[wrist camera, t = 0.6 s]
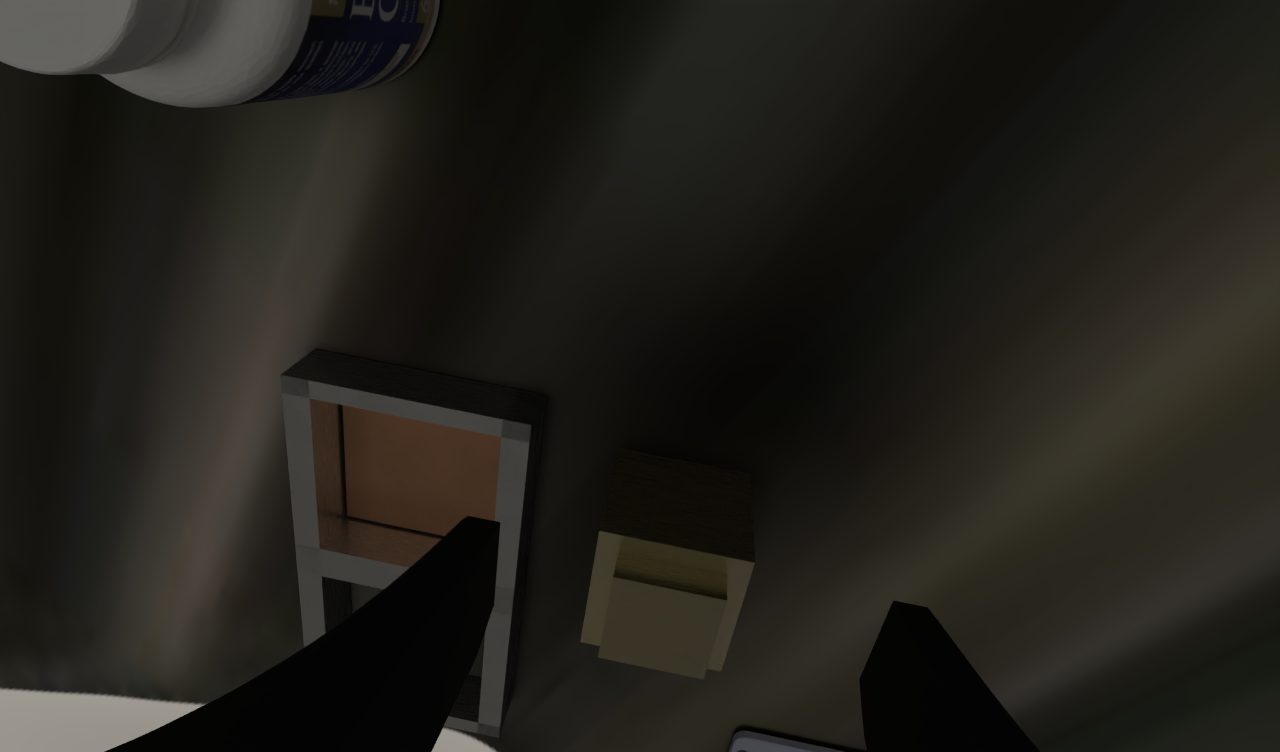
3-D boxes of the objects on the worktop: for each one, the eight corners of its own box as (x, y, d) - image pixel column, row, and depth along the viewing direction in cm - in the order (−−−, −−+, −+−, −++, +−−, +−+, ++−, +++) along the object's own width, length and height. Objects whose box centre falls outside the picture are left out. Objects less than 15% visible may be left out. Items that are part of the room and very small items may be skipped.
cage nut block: (722, 571, 26) (721, 698, 21) (603, 547, 26) (574, 667, 21) (750, 473, 24) (755, 587, 19) (621, 447, 24) (592, 554, 19)
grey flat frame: (512, 695, 30) (498, 737, 28) (333, 657, 30) (308, 696, 28) (546, 395, 23) (531, 425, 21) (314, 348, 23) (280, 374, 22)
